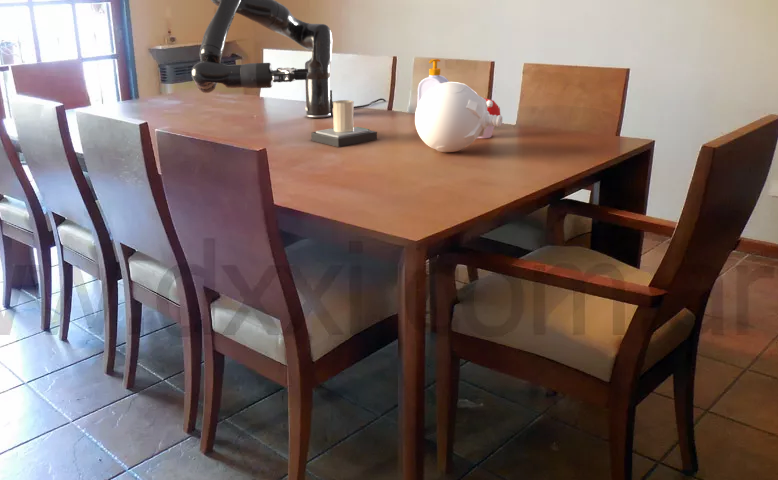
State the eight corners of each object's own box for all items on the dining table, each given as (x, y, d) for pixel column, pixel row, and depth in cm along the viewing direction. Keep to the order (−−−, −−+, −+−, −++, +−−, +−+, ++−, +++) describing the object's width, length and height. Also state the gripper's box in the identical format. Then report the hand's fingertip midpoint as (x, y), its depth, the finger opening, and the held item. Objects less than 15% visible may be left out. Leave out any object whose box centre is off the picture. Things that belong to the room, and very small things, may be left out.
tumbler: (345, 127, 223) (344, 99, 219) (357, 130, 218) (357, 101, 214) (329, 130, 219) (329, 101, 215) (342, 133, 214) (341, 103, 211)
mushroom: (461, 133, 224) (463, 95, 219) (494, 132, 224) (497, 94, 219) (468, 140, 214) (470, 100, 209) (503, 138, 214) (506, 99, 209)
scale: (349, 133, 229) (349, 124, 228) (377, 139, 219) (377, 129, 218) (311, 140, 221) (311, 130, 219) (338, 147, 210) (338, 137, 209)
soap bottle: (415, 131, 230) (417, 59, 220) (424, 127, 235) (427, 57, 225) (439, 133, 225) (442, 60, 215) (448, 129, 230) (452, 58, 221)
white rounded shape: (429, 142, 213) (432, 76, 205) (508, 149, 200) (515, 80, 192) (402, 155, 198) (404, 84, 190) (486, 163, 185) (492, 89, 177)
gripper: (252, 65, 205) (306, 64, 204) (258, 60, 218) (308, 59, 217) (254, 91, 208) (307, 89, 207) (259, 85, 221) (309, 83, 220)
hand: (307, 74), depth 212 cm, fingers open, 8 cm apart
